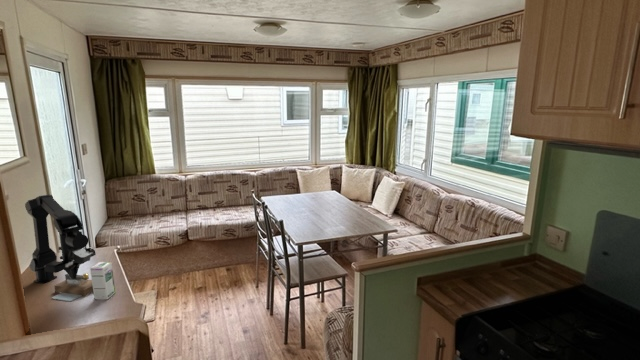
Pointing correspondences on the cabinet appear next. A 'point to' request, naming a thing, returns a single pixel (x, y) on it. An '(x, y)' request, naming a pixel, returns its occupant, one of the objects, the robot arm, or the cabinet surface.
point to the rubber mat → (66, 296)
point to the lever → (78, 276)
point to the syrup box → (102, 280)
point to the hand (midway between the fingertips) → (73, 278)
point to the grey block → (75, 282)
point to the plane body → (75, 288)
